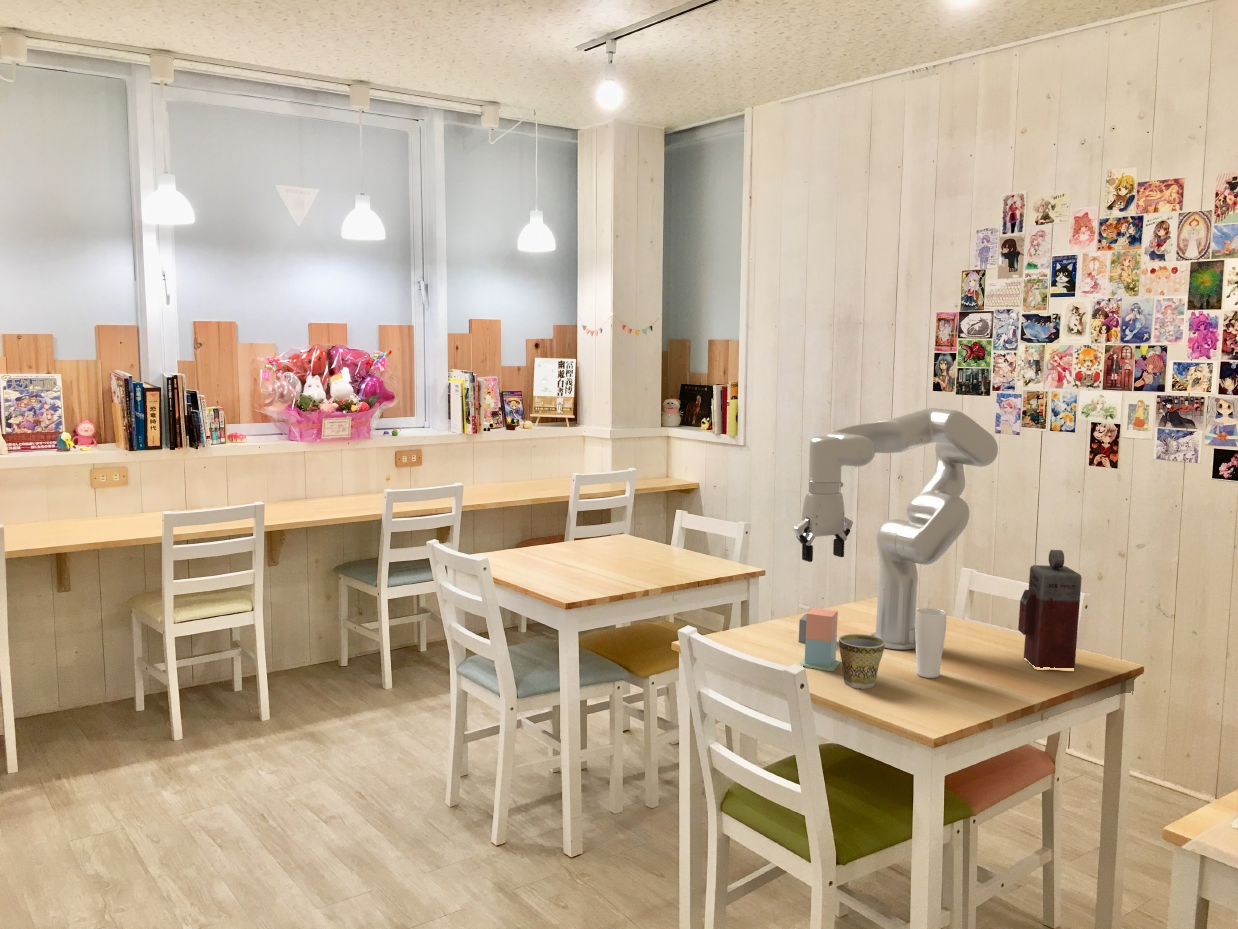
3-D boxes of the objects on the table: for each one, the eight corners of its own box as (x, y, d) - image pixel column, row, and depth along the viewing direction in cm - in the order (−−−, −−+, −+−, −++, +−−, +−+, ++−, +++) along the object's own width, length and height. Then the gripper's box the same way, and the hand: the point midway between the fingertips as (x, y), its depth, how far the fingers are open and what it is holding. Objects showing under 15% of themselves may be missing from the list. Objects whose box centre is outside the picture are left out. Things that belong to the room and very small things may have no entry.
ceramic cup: (880, 694, 215) (882, 649, 214) (833, 688, 218) (835, 643, 217) (886, 676, 227) (888, 633, 226) (841, 670, 231) (843, 628, 229)
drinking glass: (927, 681, 224) (931, 616, 222) (906, 672, 230) (909, 609, 228) (949, 677, 227) (953, 613, 225) (927, 668, 233) (931, 606, 231)
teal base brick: (835, 660, 236) (836, 635, 235) (830, 667, 231) (831, 642, 230) (810, 656, 238) (811, 632, 238) (804, 663, 233) (805, 638, 232)
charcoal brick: (827, 639, 255) (828, 616, 254) (822, 645, 249) (823, 622, 249) (804, 636, 257) (805, 613, 256) (798, 642, 252) (799, 619, 251)
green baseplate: (840, 662, 237) (840, 659, 236) (833, 671, 229) (833, 669, 229) (807, 657, 240) (807, 654, 240) (799, 666, 233) (799, 664, 232)
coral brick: (811, 632, 238) (812, 607, 237) (836, 635, 235) (837, 610, 235) (805, 638, 232) (806, 613, 232) (831, 642, 230) (832, 616, 229)
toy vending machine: (1013, 658, 242) (1021, 545, 239) (1060, 659, 241) (1069, 546, 238) (1025, 670, 233) (1034, 553, 230) (1074, 671, 233) (1084, 554, 229)
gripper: (841, 483, 244) (840, 551, 246) (786, 489, 236) (784, 559, 238) (863, 487, 238) (861, 557, 240) (806, 493, 229) (805, 565, 231)
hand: (823, 558), depth 239 cm, fingers open, 9 cm apart
